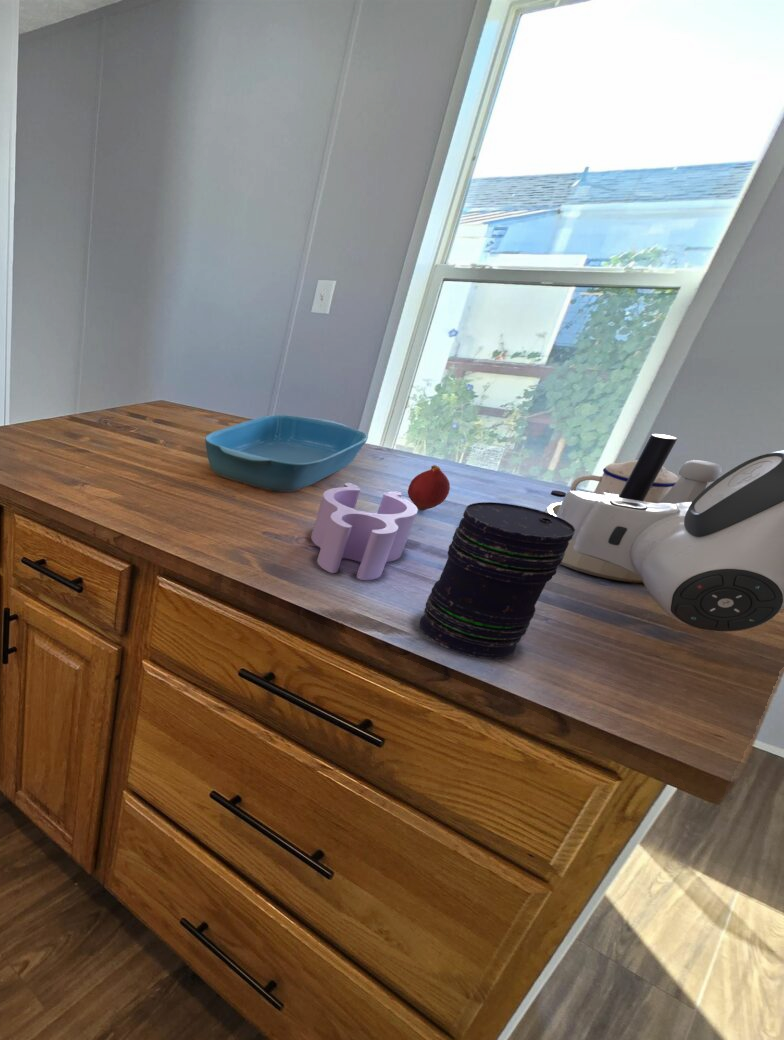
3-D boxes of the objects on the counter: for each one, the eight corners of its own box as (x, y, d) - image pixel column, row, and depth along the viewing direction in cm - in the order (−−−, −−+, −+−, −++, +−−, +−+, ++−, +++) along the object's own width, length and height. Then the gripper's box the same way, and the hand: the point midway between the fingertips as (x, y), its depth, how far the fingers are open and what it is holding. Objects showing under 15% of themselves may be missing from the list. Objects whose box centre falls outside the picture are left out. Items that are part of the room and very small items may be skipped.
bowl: (658, 553, 99) (680, 516, 96) (687, 597, 87) (713, 557, 84) (525, 529, 106) (542, 494, 103) (535, 566, 94) (553, 528, 91)
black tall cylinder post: (621, 553, 97) (686, 435, 88) (629, 567, 93) (698, 444, 84) (574, 544, 99) (632, 428, 91) (579, 557, 95) (641, 437, 86)
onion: (423, 503, 116) (439, 459, 112) (448, 515, 111) (466, 470, 107) (394, 504, 115) (409, 460, 111) (418, 517, 110) (435, 471, 106)
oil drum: (446, 657, 73) (512, 507, 64) (401, 612, 82) (455, 474, 73) (537, 661, 73) (617, 510, 64) (483, 615, 82) (547, 477, 73)
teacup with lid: (647, 523, 109) (685, 455, 103) (653, 540, 103) (694, 469, 97) (557, 506, 115) (588, 441, 110) (558, 522, 109) (591, 453, 103)
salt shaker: (671, 554, 98) (720, 470, 92) (626, 539, 103) (670, 459, 97) (691, 547, 101) (740, 466, 94) (646, 533, 105) (690, 455, 99)
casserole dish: (289, 507, 113) (300, 467, 109) (178, 474, 127) (185, 438, 124) (374, 465, 134) (385, 430, 131) (271, 441, 149) (279, 409, 145)
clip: (397, 588, 88) (414, 541, 84) (298, 565, 93) (311, 520, 90) (403, 537, 103) (419, 495, 99) (318, 519, 108) (329, 479, 105)
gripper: (835, 540, 67) (784, 500, 77) (582, 499, 76) (567, 468, 86) (796, 594, 70) (752, 548, 80) (557, 548, 79) (545, 512, 89)
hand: (654, 506), depth 83 cm, fingers open, 8 cm apart
